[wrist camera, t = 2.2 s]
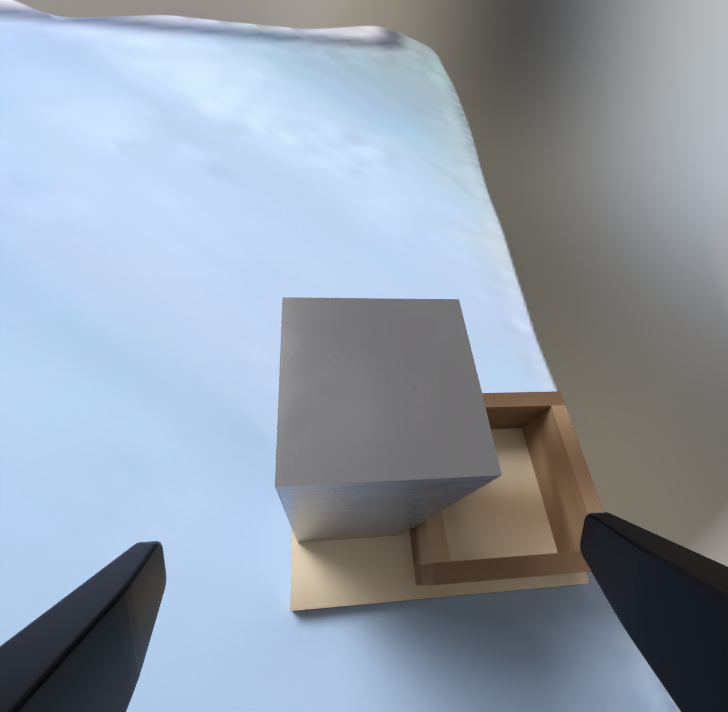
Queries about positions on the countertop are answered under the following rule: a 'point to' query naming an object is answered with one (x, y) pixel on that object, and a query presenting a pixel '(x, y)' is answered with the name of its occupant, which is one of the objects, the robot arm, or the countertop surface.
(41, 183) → the countertop surface
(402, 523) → the post
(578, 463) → the stand
